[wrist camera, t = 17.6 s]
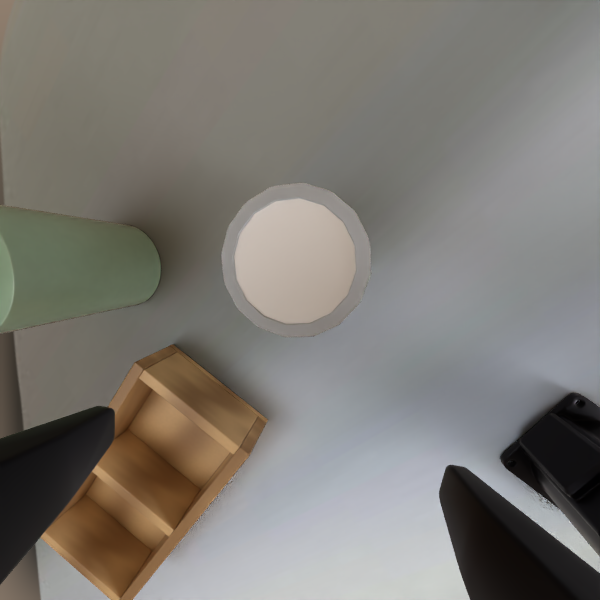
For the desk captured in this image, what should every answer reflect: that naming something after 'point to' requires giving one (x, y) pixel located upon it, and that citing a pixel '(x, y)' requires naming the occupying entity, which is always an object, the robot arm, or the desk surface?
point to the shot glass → (296, 260)
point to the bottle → (70, 267)
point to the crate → (154, 472)
